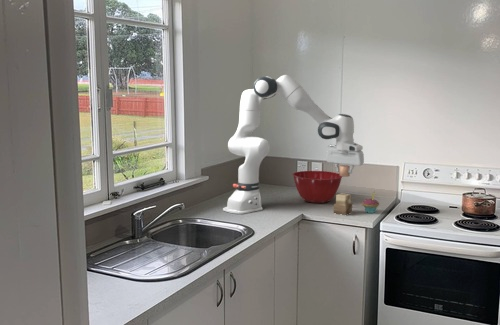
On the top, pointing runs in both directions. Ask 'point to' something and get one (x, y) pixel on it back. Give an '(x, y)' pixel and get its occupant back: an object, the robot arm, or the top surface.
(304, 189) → the mixing bowl
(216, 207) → the top surface
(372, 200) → the cupcake
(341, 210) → the tower base
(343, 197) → the tower top
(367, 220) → the top surface
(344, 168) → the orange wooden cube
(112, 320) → the top surface
